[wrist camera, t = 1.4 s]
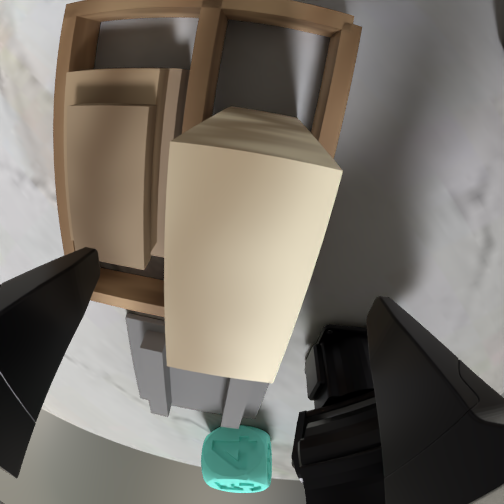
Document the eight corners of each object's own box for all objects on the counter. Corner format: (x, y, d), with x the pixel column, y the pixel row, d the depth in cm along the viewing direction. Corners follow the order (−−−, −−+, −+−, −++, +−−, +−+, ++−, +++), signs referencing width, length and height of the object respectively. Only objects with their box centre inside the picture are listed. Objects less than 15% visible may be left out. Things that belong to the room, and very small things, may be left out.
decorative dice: (205, 423, 36) (197, 476, 29) (266, 423, 35) (264, 478, 28) (219, 446, 40) (213, 491, 33) (272, 445, 39) (271, 493, 32)
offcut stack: (190, 70, 16) (165, 66, 12) (174, 243, 22) (154, 282, 18) (96, 69, 15) (53, 71, 11) (94, 229, 22) (63, 263, 17)
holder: (282, 340, 26) (283, 364, 24) (255, 414, 33) (254, 434, 31) (127, 312, 26) (116, 334, 23) (141, 394, 33) (135, 412, 30)
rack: (349, 28, 14) (363, 19, 11) (280, 309, 24) (281, 336, 22) (90, 10, 13) (66, 4, 10) (88, 274, 24) (72, 295, 21)
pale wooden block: (296, 117, 17) (342, 171, 7) (272, 233, 21) (272, 383, 11) (230, 106, 17) (170, 141, 7) (214, 224, 21) (166, 366, 11)
